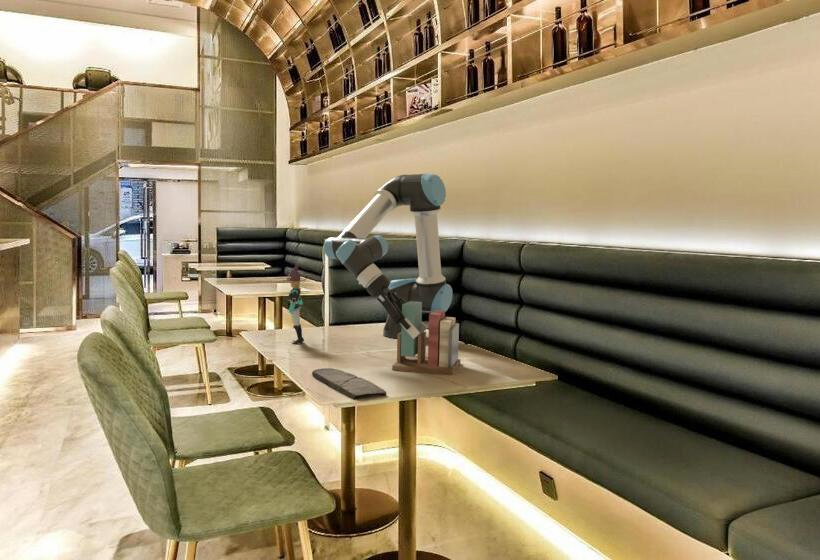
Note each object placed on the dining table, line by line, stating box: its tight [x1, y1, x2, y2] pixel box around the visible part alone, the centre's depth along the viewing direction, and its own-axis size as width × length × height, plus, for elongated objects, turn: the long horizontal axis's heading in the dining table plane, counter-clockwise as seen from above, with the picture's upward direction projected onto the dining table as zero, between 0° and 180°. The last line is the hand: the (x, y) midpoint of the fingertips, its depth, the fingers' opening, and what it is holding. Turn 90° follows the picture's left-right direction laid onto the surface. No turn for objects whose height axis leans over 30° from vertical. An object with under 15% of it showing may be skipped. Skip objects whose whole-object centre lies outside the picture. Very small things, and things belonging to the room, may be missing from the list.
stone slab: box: [311, 367, 387, 400], centre depth 169 cm, size 10×3×30 cm
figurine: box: [282, 262, 308, 345], centre depth 226 cm, size 20×9×30 cm, turn 2°
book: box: [401, 301, 423, 357], centre depth 194 cm, size 10×4×16 cm, turn 166°
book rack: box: [391, 310, 461, 376], centre depth 193 cm, size 16×18×18 cm
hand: (420, 333), depth 193 cm, fingers closed on book, 10 cm apart
